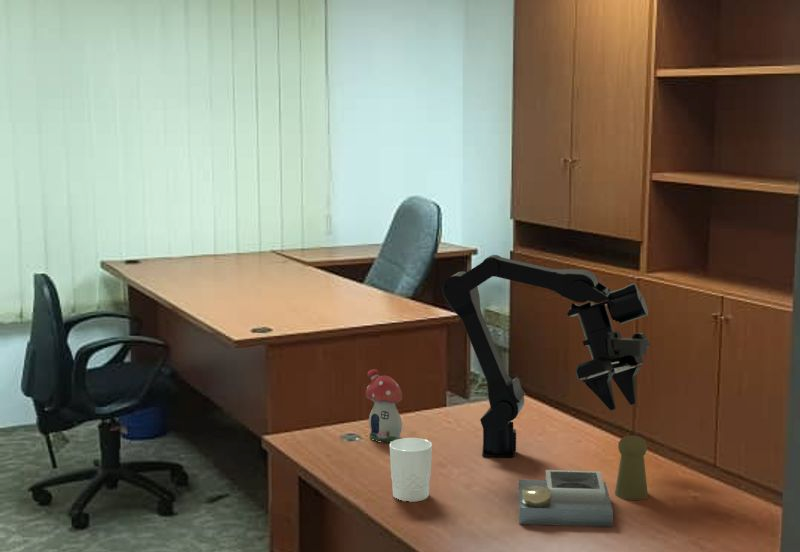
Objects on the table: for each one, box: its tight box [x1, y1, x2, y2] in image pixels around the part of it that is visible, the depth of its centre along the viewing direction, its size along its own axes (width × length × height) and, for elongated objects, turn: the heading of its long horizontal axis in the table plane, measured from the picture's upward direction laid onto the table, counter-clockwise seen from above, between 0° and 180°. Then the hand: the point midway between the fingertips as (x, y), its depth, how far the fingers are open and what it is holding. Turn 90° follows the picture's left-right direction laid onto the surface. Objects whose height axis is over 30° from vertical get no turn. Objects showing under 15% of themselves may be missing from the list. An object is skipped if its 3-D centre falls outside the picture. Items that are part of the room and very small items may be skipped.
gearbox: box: [517, 469, 614, 528], centre depth 190 cm, size 16×14×5 cm
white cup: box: [389, 437, 433, 503], centre depth 197 cm, size 8×8×10 cm
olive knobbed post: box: [614, 435, 649, 501], centre depth 197 cm, size 6×6×11 cm
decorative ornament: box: [365, 368, 403, 443], centre depth 231 cm, size 9×7×15 cm
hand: (623, 407), depth 208 cm, fingers open, 9 cm apart
